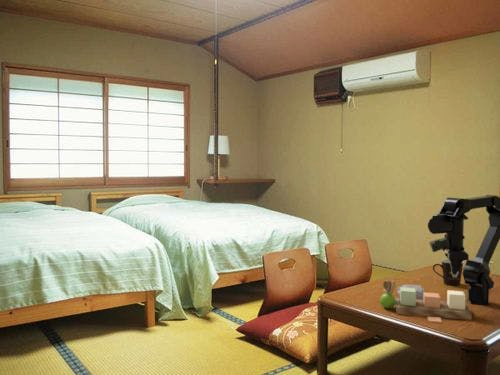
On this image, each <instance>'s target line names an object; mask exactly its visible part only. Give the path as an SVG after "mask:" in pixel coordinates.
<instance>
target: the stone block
mask: <svg viewBox="0 0 500 375" xmlns="http://www.w3.org/2000/svg"><path fill="white" fill-rule="evenodd" d="M400 287H404V288H415V291H416V299H417V300H423V292H425V293H426V291H425V288H423V287H422V285H417V284H403V285H399V286H397V294H398V298H400Z"/></svg>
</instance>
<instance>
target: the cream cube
mask: <svg viewBox="0 0 500 375" xmlns="http://www.w3.org/2000/svg"><path fill="white" fill-rule="evenodd" d="M446 291H447V292H446V294H447V295H446V296H447V297H446V302H447V305H448V307H449V309H462V310H465V303H466V294H465V292H464V291H463V290H449V289H448V290H446Z"/></svg>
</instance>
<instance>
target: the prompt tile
mask: <svg viewBox="0 0 500 375" xmlns="http://www.w3.org/2000/svg"><path fill="white" fill-rule="evenodd" d="M427 321H428V322H429V323H438V324H439V323H440V324H441V323H443V321H442V317H430V316H427Z"/></svg>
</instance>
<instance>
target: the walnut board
mask: <svg viewBox="0 0 500 375" xmlns="http://www.w3.org/2000/svg"><path fill="white" fill-rule="evenodd" d="M395 299H396V303H395V305H394V307H395V311H396V312H395V313H396V314H397V315H406V316H407V315H408V316H417V317H419V316H420V317H438V318H441V319H455V320H456V319H457V320H469V321H472V319H473V318H472V317H473V315H472V313H473V312H472V311H471V309H470V308H469V307H468V305H467V304H466V302H465V310H462V309H449V307H448V305H447V301H442V300H440V308H433V307H424V306H423V300H417V299H416V306H410V305H401V303H400V297H395Z"/></svg>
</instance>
